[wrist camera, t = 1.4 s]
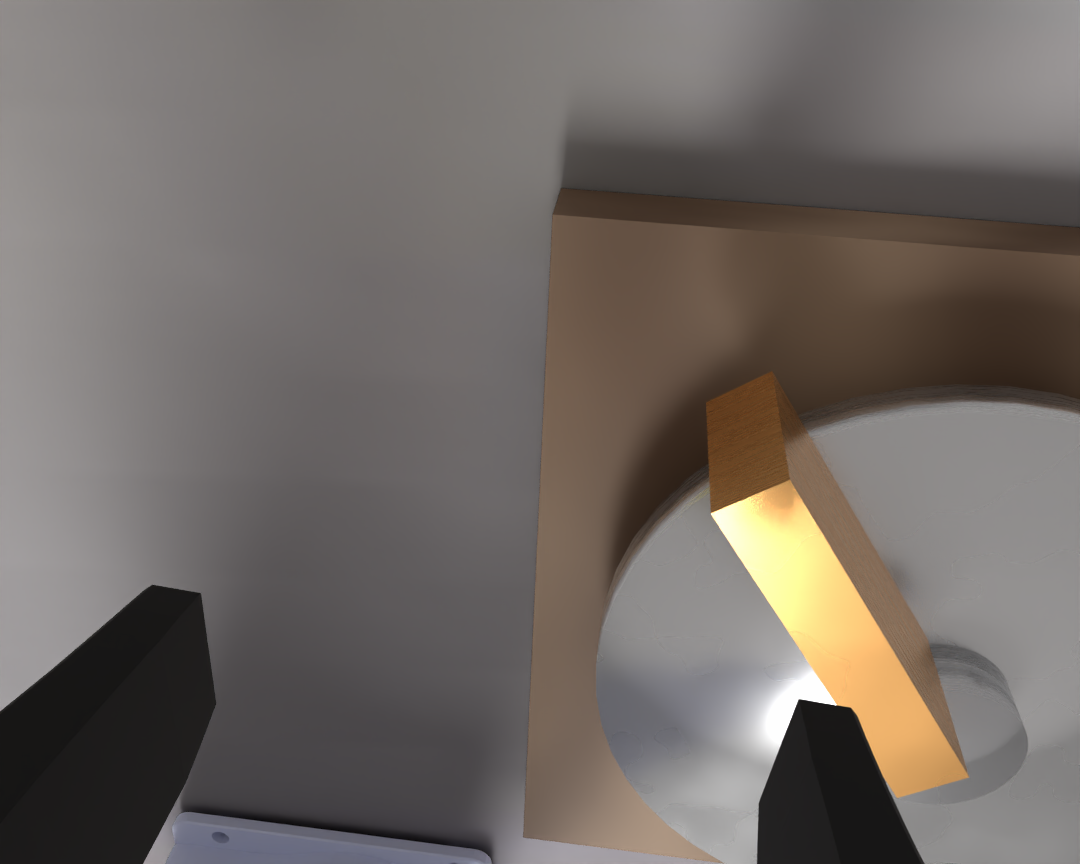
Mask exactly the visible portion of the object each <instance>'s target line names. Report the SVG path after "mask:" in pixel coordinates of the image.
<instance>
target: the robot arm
mask: <svg viewBox="0 0 1080 864" xmlns="http://www.w3.org/2000/svg"><path fill="white" fill-rule="evenodd" d="M215 705H216V700H215V693H214V685H213V678H212V671H211V663H210V656H209V649H208V642H207V634H206V627H205V620H204V613H203V605H202V598H201V593H196V592H191V591H185V590H179V589H173V588H168V587H162V586H156V585H151V586H150V587H148V588H147V589H145V590H144V591H143V592H142V593H140V594H139V595H138V596H137V597H136V598H135V599H133V600H132V601H131V602H130V603H129V604H128V605H126V606H125V607H124V608H123V609H122V610H121V611H120V612H118V613H117V614H116V615H115V616H114V617H113V618H111V619H110V620H109V621H108V622H107V623H106V624H105V625H103V626H102V627H101V628H100V629H99V630H98V631H96V632H95V633H94V634H93V635H92V636H91V637H89V638H88V639H87V640H86V641H85V642H84V643H83V644H81V645H80V646H79V647H78V648H77V649H75V650H74V651H73V652H72V653H71V654H70V655H68V656H67V657H66V658H65V659H64V660H62V661H61V662H60V663H59V664H58V665H57V666H55V667H54V668H53V669H52V670H51V671H49V672H48V673H47V674H46V675H44V676H43V677H42V678H41V679H40V680H38V681H37V682H36V683H35V684H33V685H32V686H31V687H30V688H28V689H27V690H26V691H25V692H24V693H22V694H21V695H20V696H19V697H17V698H16V699H15V700H14V701H12V702H11V703H10V704H9V705H8V706H6V707H5V708H4V709H3V710H1V711H0V864H143V863H144V861H145V859H146V857H147V855H148V853H149V851H150V850H151V848H152V846H153V844H154V842H155V840H156V838H157V836H158V834H159V833H160V831H161V829H162V827H163V825H164V823H165V821H166V819H167V817H168V815H169V814H170V812H171V810H172V808H173V806H174V804H175V802H176V800H177V798H178V796H179V794H180V792H181V790H182V789H183V787H184V785H185V783H186V780H187V778H188V775H189V773H190V770H191V768H192V765H193V763H194V760H195V758H196V755H197V753H198V750H199V748H200V745H201V743H202V740H203V737H204V735H205V732H206V729H207V727H208V724H209V721H210V719H211V716H212V713H213V711H214V708H215ZM172 832H173V836H174V840H175V845H174V847H173V849H172V851H171V853H170V855H169V857H168V859H167V861H166V863H165V864H492V862H491V858H490V857H489V856H488V855H487V854H486V853H484V852H483V851H481V850H477V849H471V848H463V847H455V846H448V845H440V844H432V843H425V842H417V841H409V840H402V839H394V838H386V837H379V836H371V835H363V834H356V833H348V832H340V831H333V830H325V829H317V828H310V827H302V826H294V825H287V824H279V823H271V822H264V821H256V820H248V819H241V818H233V817H225V816H218V815H210V814H202V813H195V812H184V813H181V814H179V815H178V816H177V817H176V819H175V821H174V823H173V825H172ZM757 864H925V863H924V862H923V860H922V858H921V856H920V854H919V852H918V850H917V848H916V846H915V844H914V842H913V840H912V838H911V836H910V833H909V831H908V829H907V827H906V825H905V823H904V821H903V819H902V817H901V815H900V812H899V810H898V808H897V806H896V804H895V802H894V799H893V797H892V795H891V793H890V791H889V789H888V786H887V784H886V782H885V780H884V778H883V775H882V773H881V771H880V769H879V766H878V764H877V762H876V759H875V757H874V755H873V752H872V750H871V748H870V745H869V743H868V740H867V738H866V736H865V733H864V731H863V728H862V726H861V724H860V721H859V719H858V716H857V715H856V713H855V712H854V711H853V710H852V708H850V707H844V706H839V705H833V704H827V703H822V702H816V701H810V700H804V699H799V698H798V701H797V704H796V706H795V709H794V711H793V714H792V717H791V719H790V722H789V725H788V727H787V730H786V732H785V735H784V738H783V740H782V743H781V746H780V748H779V751H778V753H777V756H776V759H775V761H774V764H773V767H772V769H771V772H770V774H769V777H768V780H767V782H766V785H765V788H764V790H763V793H762V795H761V798H760V801H759V809H758V841H757Z"/></svg>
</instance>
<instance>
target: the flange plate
mask: <svg viewBox="0 0 1080 864" xmlns="http://www.w3.org/2000/svg"><path fill="white" fill-rule="evenodd" d="M706 412H707V435H708V459H709V463H708V464H706V465H705V466H704V467H702V468H701V469H700V470H698V471H697V472H696V473H694V474H693V475H692V476H690V477H689V478H688V479H686V480H685V481H684V482H683V483H682V484H681V485H680V486H679V487H678V488H677V489H676V490H675V491H674V492H673V493H672V494H671V495H670V496H669V497H668V498H667V499H666V500H665V501H663V502H662V503H661V504H660V505H659V506H658V507H657V508H656V510H655V511H654V512H653V514H652V515H651V516H650V517H649V519H648V520H647V521H646V523H645V524H644V525H643V526H642V528H641V529H640V530H639V532H638V533H637V534H636V535H635V537H634V538H633V540H632V542H631V543H630V545H629V547H628V549H627V551H626V552H625V554H624V556H623V558H622V560H621V561H620V563H619V565H618V567H617V569H616V571H615V574H614V577H613V580H612V582H611V585H610V588H609V591H608V593H607V596H606V599H605V604H604V609H603V615H602V620H601V626H600V632H599V642H598V652H597V662H596V697H597V703H598V708H599V714H600V720H601V725H602V728H603V730H604V733H605V736H606V739H607V741H608V744H609V747H610V750H611V752H612V754H613V756H614V758H615V760H616V761H617V763H618V765H619V767H620V769H621V770H622V772H623V774H624V776H625V777H626V779H627V780H628V782H629V783H630V784H631V786H632V787H633V788H634V789H635V791H636V792H637V793H638V795H639V796H640V797H641V798H642V800H643V801H644V802H645V803H646V804H647V805H648V806H649V807H650V808H651V809H652V810H653V811H654V812H655V813H656V814H657V815H658V816H659V817H660V818H661V819H662V820H663V821H664V822H665V823H666V824H667V825H668V826H669V827H671V828H672V829H673V830H675V831H676V832H677V833H679V834H680V835H681V836H682V837H684V838H685V839H686V840H688V841H689V842H690V843H692V844H693V845H695V846H696V847H698V848H700V849H701V850H703V851H705V852H706V853H708V854H710V855H711V856H713V857H715V858H716V859H718V860H720V861H721V862H723V863H725V864H757V841H758V809H759V801H760V798H761V795H762V793H763V790H764V788H765V785H766V782H767V780H768V777H769V774H770V772H771V769H772V767H773V764H774V761H775V759H776V756H777V753H778V751H779V748H780V746H781V743H782V740H783V738H784V735H785V732H786V730H787V727H788V725H789V722H790V719H791V717H792V714H793V711H794V709H795V706H796V704H797V701H798V698H799V699H804V700H810V701H816V702H822V703H827V704H833V705H839V706H844V707H850V708H852V710H853V711H854V712H855V713H856V715H857V716H858V719H859V721H860V724H861V726H862V728H863V731H864V733H865V736H866V738H867V740H868V743H869V745H870V748H871V750H872V752H873V755H874V757H875V759H876V762H877V764H878V766H879V769H880V771H881V773H882V775H883V778H884V780H885V782H886V784H887V786H888V789H889V791H890V793H891V795H892V797H893V799H894V802H895V804H896V806H897V808H898V810H899V812H900V815H901V817H902V819H903V821H904V823H905V825H906V827H907V829H908V831H909V833H910V836H911V838H912V840H913V842H914V844H915V846H916V848H917V850H918V852H919V854H920V856H921V858H922V860H923V862H924V863H925V864H1080V399H1076V398H1072V397H1069V396H1065V395H1061V394H1058V393H1051V392H1044V391H1037V390H1030V389H1024V388H1017V387H1010V386H989V385H958V384H954V385H941V386H928V387H915V388H903V389H898V390H892V391H887V392H882V393H876V394H871V395H865V396H860V397H855V398H851V399H847V400H844V401H841V402H837V403H834V404H831V405H827V406H824V407H821V408H817V409H814V410H811V411H808V412H804V413H802V414H800V415H797V413H796V411H795V410H794V408H793V406H792V405H791V403H790V401H789V399H788V398H787V396H786V394H785V392H784V391H783V389H782V387H781V386H780V384H779V382H778V380H777V379H776V377H775V375H774V374H773V372H772V371H771V372H769V373H767V374H765V375H762V376H760V377H758V378H756V379H754V380H752V381H750V382H748V383H745V384H743V385H741V386H739V387H737V388H735V389H733V390H731V391H728V392H726V393H724V394H722V395H720V396H718V397H716V398H714V399H711V400H709V401H707V402H706Z"/></svg>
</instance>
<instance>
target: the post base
mask: <svg viewBox="0 0 1080 864" xmlns="http://www.w3.org/2000/svg"><path fill="white" fill-rule="evenodd" d="M771 371H772V372H773V374H774V375H775V377H776V379H777V380H778V382H779V384H780V386H781V387H782V389H783V391H784V392H785V394H786V396H787V398H788V399H789V401H790V403H791V405H792V406H793V408H794V410H795V411H796V413H797V415H800V414H802V413H804V412H808V411H811V410H814V409H817V408H821V407H824V406H827V405H831V404H834V403H837V402H841V401H844V400H847V399H851V398H855V397H860V396H865V395H871V394H876V393H882V392H887V391H892V390H898V389H903V388H915V387H928V386H941V385H954V384H958V385H989V386H1010V387H1017V388H1024V389H1030V390H1037V391H1044V392H1051V393H1058V394H1061V395H1065V396H1069V397H1072V398H1076V399H1080V228H1078V227H1065V226H1051V225H1038V224H1025V223H1012V222H999V221H986V220H972V219H959V218H946V217H933V216H920V215H907V214H893V213H880V212H867V211H854V210H841V209H828V208H814V207H801V206H788V205H775V204H762V203H749V202H735V201H722V200H709V199H696V198H683V197H670V196H656V195H643V194H630V193H617V192H604V191H591V190H577V189H564V188H561V190H560V193H559V196H558V200H557V203H556V206H555V209H554V212H553V216H552V237H551V258H550V279H549V301H548V322H547V343H546V364H545V386H544V407H543V428H542V449H541V471H540V492H539V513H538V534H537V555H536V577H535V598H534V619H533V640H532V662H531V683H530V704H529V725H528V747H527V768H526V789H525V810H524V832H523V837H524V838H531V839H539V840H547V841H555V842H562V843H570V844H578V845H586V846H593V847H601V848H609V849H617V850H624V851H632V852H640V853H648V854H656V855H663V856H671V857H679V858H687V859H694V860H702V861H710V862H718V863H723V862H721V861H720V860H718V859H716V858H715V857H713V856H711V855H710V854H708V853H706V852H705V851H703V850H701V849H700V848H698V847H696V846H695V845H693V844H692V843H690V842H689V841H688V840H686V839H685V838H684V837H682V836H681V835H680V834H679V833H677V832H676V831H675V830H673V829H672V828H671V827H669V826H668V825H667V824H666V823H665V822H664V821H663V820H662V819H661V818H660V817H659V816H658V815H657V814H656V813H655V812H654V811H653V810H652V809H651V808H650V807H649V806H648V805H647V804H646V803H645V802H644V801H643V800H642V798H641V797H640V796H639V795H638V793H637V792H636V791H635V789H634V788H633V787H632V786H631V784H630V783H629V782H628V780H627V779H626V777H625V776H624V774H623V772H622V770H621V769H620V767H619V765H618V763H617V761H616V760H615V758H614V756H613V754H612V752H611V750H610V747H609V744H608V741H607V739H606V736H605V733H604V730H603V728H602V725H601V720H600V714H599V708H598V703H597V697H596V662H597V652H598V642H599V632H600V626H601V620H602V615H603V609H604V604H605V599H606V596H607V593H608V591H609V588H610V585H611V582H612V580H613V577H614V574H615V571H616V569H617V567H618V565H619V563H620V561H621V560H622V558H623V556H624V554H625V552H626V551H627V549H628V547H629V545H630V543H631V542H632V540H633V538H634V537H635V535H636V534H637V533H638V532H639V530H640V529H641V528H642V526H643V525H644V524H645V523H646V521H647V520H648V519H649V517H650V516H651V515H652V514H653V512H654V511H655V510H656V508H657V507H658V506H659V505H660V504H661V503H662V502H663V501H665V500H666V499H667V498H668V497H669V496H670V495H671V494H672V493H673V492H674V491H675V490H676V489H677V488H678V487H679V486H680V485H681V484H682V483H683V482H684V481H685V480H686V479H688V478H689V477H690V476H692V475H693V474H694V473H696V472H697V471H698V470H700V469H701V468H702V467H704V466H705V465H706V464H708V463H709V459H708V435H707V412H706V402H707V401H709V400H711V399H714V398H716V397H718V396H720V395H722V394H724V393H726V392H728V391H731V390H733V389H735V388H737V387H739V386H741V385H743V384H745V383H748V382H750V381H752V380H754V379H756V378H758V377H760V376H762V375H765V374H767V373H769V372H771Z"/></svg>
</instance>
